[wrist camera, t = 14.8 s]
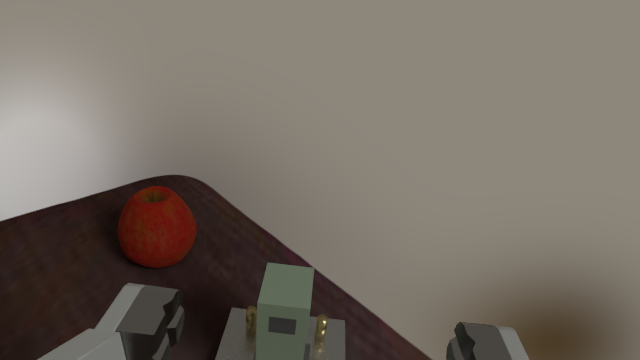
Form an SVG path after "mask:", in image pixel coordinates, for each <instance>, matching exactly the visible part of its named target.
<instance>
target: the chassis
mask: <svg viewBox="0 0 640 360" xmlns="http://www.w3.org/2000/svg"><path fill="white" fill-rule="evenodd" d="M256 335H257V308H256V307H255V306H249V307H247V309H240V308H232V309H231V312H230V315H229V318H228V321H227V324H226V327H225V330H224V334H223V337H222V340H221V343H220V346H219V349H218V352H217V355H216V358H215V360H256ZM303 360H345V321H344V320H335V319H328V317H327V316H326V315H325V314H320V315H318V317H309V322H308V329H307V337H306V344H305V352H304V359H303Z"/></svg>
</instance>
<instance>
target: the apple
mask: <svg viewBox="0 0 640 360" xmlns="http://www.w3.org/2000/svg"><path fill="white" fill-rule="evenodd" d="M196 232H197V226H196V223H195V219H194V216H193V214H192V213H191V211H190V209H189V207H188V206H187V205H186V204H185V202H184V201H183V200H182V199H181V198H180V197H179V196H178V195H177V194H176V193H175V192H173V191H172V190H170V189H169V188H166V187H160V186H152V187H148V188H146V189H143V190H141V191H139V192H137V193H135V194H134V195H132V196H131V198H130V199H129V200H128V201H127V203H126V205H125V207H124V208H123V210H122V213H121V215H120V218H119V222H118V230H117V233H118V237H119V242H120V247H121V249H122V250H123V252H124V253H125V255H126V257H127V258H129V259H130V260H131V261H132V262H134V263H137V264H139V265H142V266H145V267H150V268H163V267H169V266H172V265H174V264H176V263H177V262H179V261H181V260H182V259H183V258H184V257H185V256H186V255H187V254H188V252H189V251H190V249H191V247H192V246H193V244H194V242H195V238H196Z"/></svg>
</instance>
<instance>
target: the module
mask: <svg viewBox="0 0 640 360" xmlns="http://www.w3.org/2000/svg"><path fill="white" fill-rule="evenodd" d="M313 275H314V268H309V267H301V266H292V265H284V264H275V263H268V264H267V268H266V272H265V276H264V280H263V284H262V288H261V291H260V295H259V299H258V306H257V335H256V360H303V359H304V352H305V344H306V337H307V329H308V322H309V315H310V307H311V296H312V285H313Z"/></svg>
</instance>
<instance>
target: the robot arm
mask: <svg viewBox="0 0 640 360" xmlns="http://www.w3.org/2000/svg"><path fill="white" fill-rule="evenodd" d="M182 299H183V296H182V291H181V290H177V289H170V288H163V287H156V286H149V285H141V284H133V283H128V284H127V285H125V286H124V287H123V288H122V290H121V291H120V293H119V294H118V295H117V297H116V298H115V300H114V301H113V303H112V304H111V306H110V307H109V308H108V310H107V311H106V313H105V314H104V316H103V317H102V319H101V320H100V321H99V323H98V324H97V326H96V327H95V329H87V330H86V331H84V332H82V333H81V334H79V335H78V336H76V337H74V338H73V339H71V340H69V341H68V342H66V343H64V344H63V345H61V346H59V347H58V348H56V349H54V350H53V351H51V352H49V353H48V354H46V355H44V356H43V357H41V358H39V359H38V360H170V358H171V351H170V348H171V347H172V346H173V345H175V344H176V343H177V342H178V340H179V338H180V335H181V333H182V329H183V325H184V316H185V315H184V309H183V308H182V307H181V306H180V304H181V302H182ZM454 331H455V334H456V337H455V338H453V339H451V340H450V342H449V344H448V347H447V356H446V359H447V360H529V358H528V356H527V354H526V352H525V350H524V348H523V346H522V344H521V342H520V340H519V338H518V336H517V334H516V332H515V330H514V329H513V328H510V327H501V326H493V325H485V324H476V323H466V322H459V323H458V324H457V325H456V328H455V330H454Z"/></svg>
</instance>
